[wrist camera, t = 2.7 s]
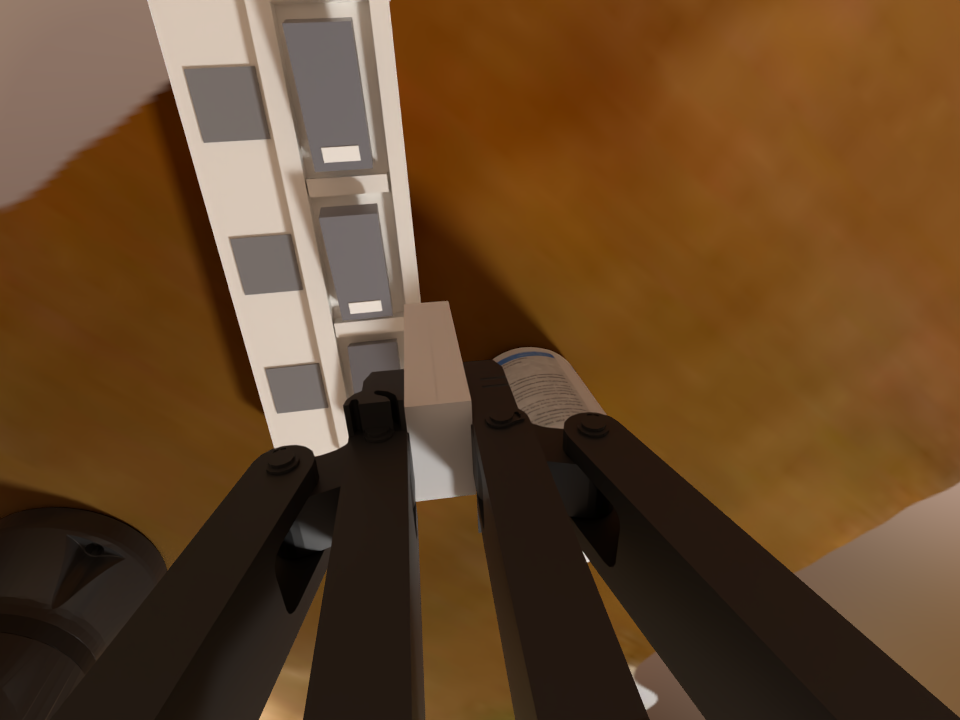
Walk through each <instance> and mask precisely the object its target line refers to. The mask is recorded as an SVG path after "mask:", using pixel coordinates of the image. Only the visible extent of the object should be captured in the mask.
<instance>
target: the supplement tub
mask: <svg viewBox="0 0 960 720" xmlns="http://www.w3.org/2000/svg"><path fill="white" fill-rule="evenodd" d="M492 360H494V361H495V362H497V363H498V364H499V365H501V366H502V367H503V369H504V372H505V375H506V378H507V380H508V383H509V385H510V388H511V391H512V393H513V396H514V398H515V401H516V404H517V406H518V408H519V409H520V410H522V411H524V412H525V413H526V414H527V415H528V417H529V419H530V421H531V423H533V424H536V425H539V426H543V427H550V428H560V429H564V422H565V421H566V420H567V419H568V418H569V417H570V416H573V415H575V414H577V413H585V412H593V413H594V412H595V413H601V414H604V415H606V413H605V412H604V411H603V409H602V408H601V406H600V405H599V404H598V402H597V401H596V399H595V398H594V396H593V395H592V394H591V392H590V391H589V389H588V388H587V387H586V385H585V384H584V382H583V381H582V380H581V378H580V377H579V376H578V374H577V373H576V371H575V370H574V369H573V367H572V366H571V365H570V364H569V362H568V361H567V360H566V359H564V358H563V357H562V356H560V355H559V354H557V353H555V352H553V351H551V350H547V349H543V348H537V347H522V348H516V349H512V350H509V351H507V352H504V353H502V354H500V355H499V356H497V357H495V358H494V359H492ZM583 554H584V552H583ZM584 556H585V559H586V562H589V559H588V558H587V557H586V555H585V554H584Z"/></svg>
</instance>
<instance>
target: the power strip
mask: <svg viewBox="0 0 960 720" xmlns="http://www.w3.org/2000/svg"><path fill="white" fill-rule="evenodd" d="M389 1H391V0H147V2H148V6H149V9H150V12H151V16H152V20H153V23H154V27H155V30H156V34H157V37H158V41H159V44H160V48H161V51H162V54H163V58H164V61H165V65H166V69H167V72H168V76H169V79H170V83H171V86H172V90H173V94H174V97H175V101H176V104H177V108H178V111H179V115H180V118H181V122H182V125H183V129H184V132H185V136H186V139H187V143H188V146H189V150H190V153H191V157H192V160H193V164H194V167H195V171H196V174H197V178H198V181H199V185H200V188H201V192H202V195H203V199H204V202H205V206H206V210H207V213H208V217H209V220H210V224H211V227H212V231H213V234H214V238H215V241H216V245H217V248H218V252H219V255H220V259H221V262H222V266H223V269H224V273H225V276H226V280H227V283H228V287H229V290H230V294H231V297H232V301H233V304H234V308H235V311H236V315H237V318H238V322H239V326H240V329H241V333H242V336H243V340H244V343H245V347H246V350H247V354H248V357H249V361H250V364H251V368H252V371H253V375H254V378H255V382H256V385H257V389H258V392H259V396H260V399H261V403H262V406H263V410H264V413H265V417H266V420H267V424H268V427H269V431H270V434H271V438H272V442H273V445H274V448H277V447H281V446H287V445H300V446H306V447H307V448H309V449H310V450H312V451H313V453H314V456H320V455H323V454H326V453H329V452H332V451H334V450H337V449H339V448H341V447H342V446H344V445H346V444H347V443H348V438H349V436H348V431H347V425H346V420H345V414H344V409H343V405H344V403H345V401H346V400H347V399H348V398H349V397H351V396H352V395H353V394H354V389H353V382H352V375H351V368H350V362H349V355H348V348H347V347H348V345H349V344H350V343H357V342H366V341H376V340H386V339H396V338H397V343H398V351H399V359H400V368H401V369H404V304H414V303H421V298H420V289H419V280H418V270H417V261H416V252H415V242H414V233H413V223H412V214H411V205H410V195H409V186H408V176H407V167H406V158H405V148H404V139H403V130H402V120H401V111H400V101H399V92H398V83H397V73H396V64H395V55H394V45H393V36H392V26H391V17H390V8H389ZM343 17H352V20H353V27H354V33H355V40H356V47H357V54H358V61H359V67H360V74H361V81H362V88H363V95H364V102H365V108H366V115H367V122H368V129H369V136H370V142H371V149H372V156H373V168H371V169H356V170H340V171H325V172H315V169H314V164H313V160H312V155H311V151H310V146H309V142H308V137H307V133H306V128H305V124H304V120H303V115H302V111H301V106H300V102H299V97H298V93H297V88H296V84H295V79H294V75H293V70H292V66H291V61H290V57H289V52H288V48H287V44H286V39H285V35H284V30H283V26H282V23H283V22H284V21H285V20H286V19H313V18H343ZM374 203H377V205H378V211H379V218H380V225H381V231H382V238H383V245H384V251H385V258H386V265H387V272H388V278H389V285H390V292H391V298H392V308H393V316H385V317H375V318H365V319H355V320H344V321H343V320H342V316H341V312H340V307H339V303H338V299H337V295H336V290H335V286H334V282H333V277H332V273H331V269H330V265H329V260H328V256H327V252H326V247H325V243H324V239H323V235H322V230H321V226H320V222H319V214H320V209H321V207H333V206H347V205H360V204H374Z"/></svg>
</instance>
